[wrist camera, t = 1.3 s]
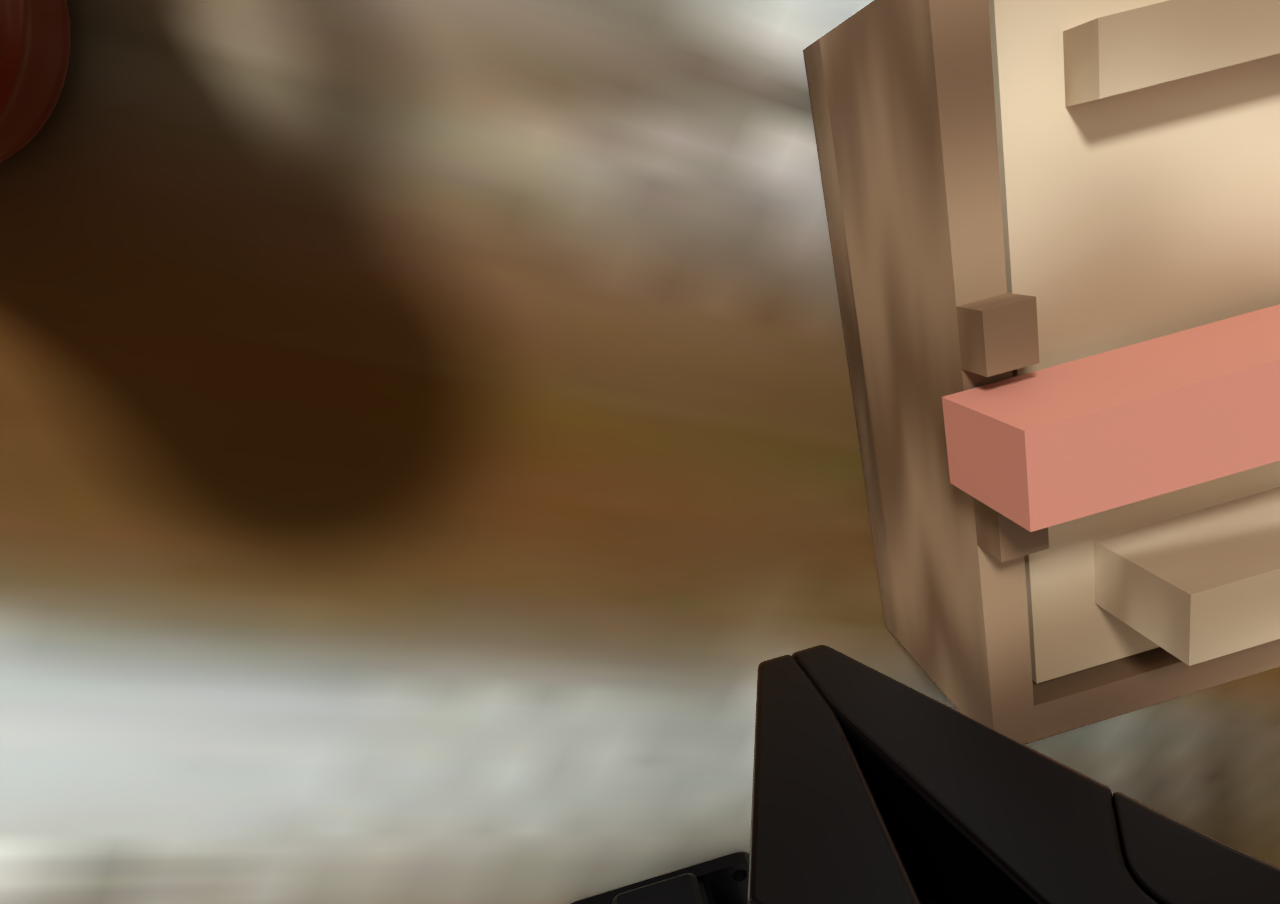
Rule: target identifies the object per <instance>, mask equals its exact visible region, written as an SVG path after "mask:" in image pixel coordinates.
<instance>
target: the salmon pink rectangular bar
mask: <svg viewBox="0 0 1280 904" xmlns="http://www.w3.org/2000/svg"><path fill="white" fill-rule="evenodd" d="M942 405H943V415H944V425H945V435H946V445H947V455H948V465H949V475H950V483H951V484H953V485H954V486H956V487H958V488H959V489H961V490H963V491H964V492H966V493H968V494H969V495H971V496H972V497H974V498H976V499H977V500H979V501H981V502H982V503H984V504H985V505H987V506H989V507H990V508H992V509H994V510H995V511H997V512H999V513H1000V514H1002V515H1003V516H1005V517H1007V518H1008V519H1010V520H1012V521H1013V522H1015V523H1017V524H1018V525H1020V526H1021V527H1023V528H1025V529H1026V530H1028V531H1030V532H1033V531H1036V530H1040V529H1043V528H1047V527H1050V526H1054V525H1057V524H1061V523H1064V522H1068V521H1071V520H1075V519H1078V518H1082V517H1085V516H1089V515H1092V514H1096V513H1099V512H1103V511H1106V510H1110V509H1113V508H1116V507H1120V506H1123V505H1127V504H1130V503H1134V502H1137V501H1141V500H1144V499H1148V498H1151V497H1155V496H1158V495H1162V494H1165V493H1169V492H1172V491H1176V490H1179V489H1183V488H1186V487H1190V486H1193V485H1196V484H1200V483H1203V482H1207V481H1210V480H1214V479H1217V478H1221V477H1224V476H1228V475H1231V474H1235V473H1238V472H1242V471H1245V470H1249V469H1252V468H1256V467H1259V466H1263V465H1266V464H1270V463H1273V462H1276V461H1280V304H1279V305H1275V306H1271V307H1268V308H1264V309H1260V310H1257V311H1253V312H1249V313H1246V314H1242V315H1238V316H1235V317H1231V318H1228V319H1224V320H1220V321H1217V322H1213V323H1209V324H1206V325H1202V326H1198V327H1195V328H1191V329H1187V330H1184V331H1180V332H1177V333H1173V334H1169V335H1166V336H1162V337H1158V338H1155V339H1151V340H1147V341H1144V342H1140V343H1136V344H1133V345H1129V346H1126V347H1122V348H1118V349H1115V350H1111V351H1107V352H1104V353H1100V354H1096V355H1093V356H1089V357H1085V358H1082V359H1078V360H1075V361H1071V362H1067V363H1064V364H1060V365H1056V366H1053V367H1049V368H1045V369H1042V370H1038V371H1034V372H1031V373H1027V374H1024V375H1020V376H1016V377H1013V378H1009V379H1005V380H1002V381H998V382H994V383H991V384H987V385H983V386H980V387H976V388H973V389H969V390H965V391H962V392H958V393H954V394H951V395H947V396H943V397H942Z"/></svg>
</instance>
